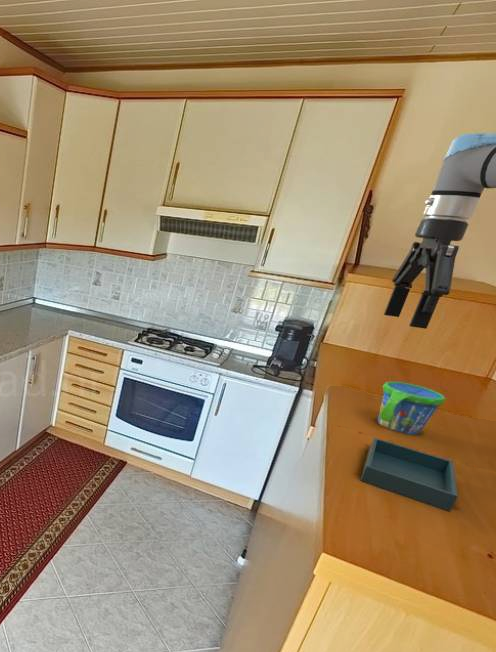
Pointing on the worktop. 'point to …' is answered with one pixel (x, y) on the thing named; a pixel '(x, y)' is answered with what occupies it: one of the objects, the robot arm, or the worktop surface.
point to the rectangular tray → (411, 474)
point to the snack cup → (407, 407)
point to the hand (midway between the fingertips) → (403, 321)
